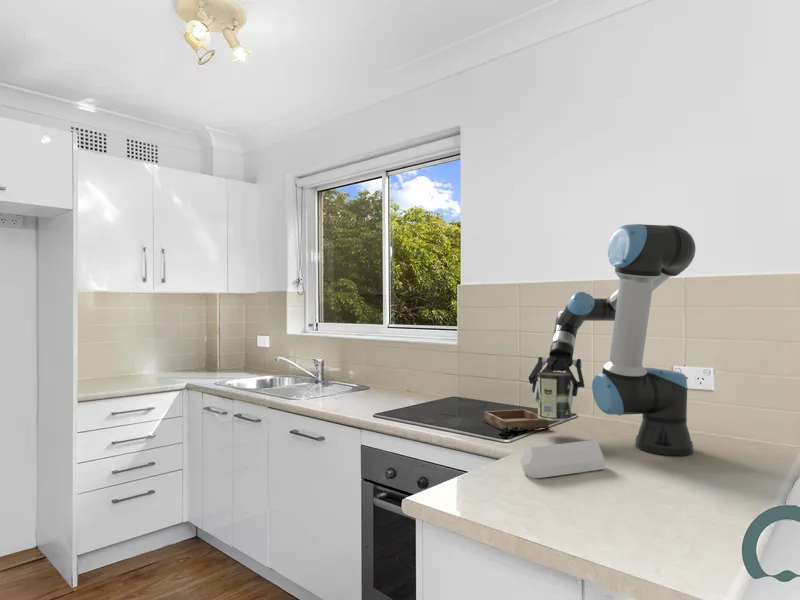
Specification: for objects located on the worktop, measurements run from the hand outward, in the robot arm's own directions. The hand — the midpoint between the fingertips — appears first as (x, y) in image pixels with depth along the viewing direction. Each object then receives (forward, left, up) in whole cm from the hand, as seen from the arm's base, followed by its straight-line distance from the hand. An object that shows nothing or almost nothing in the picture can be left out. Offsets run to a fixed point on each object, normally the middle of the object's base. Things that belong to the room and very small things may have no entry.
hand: (552, 401), depth 169 cm
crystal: (-28, +15, -12) cm, 34 cm away
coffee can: (+2, -2, -6) cm, 6 cm away
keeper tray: (+18, +3, -11) cm, 21 cm away
